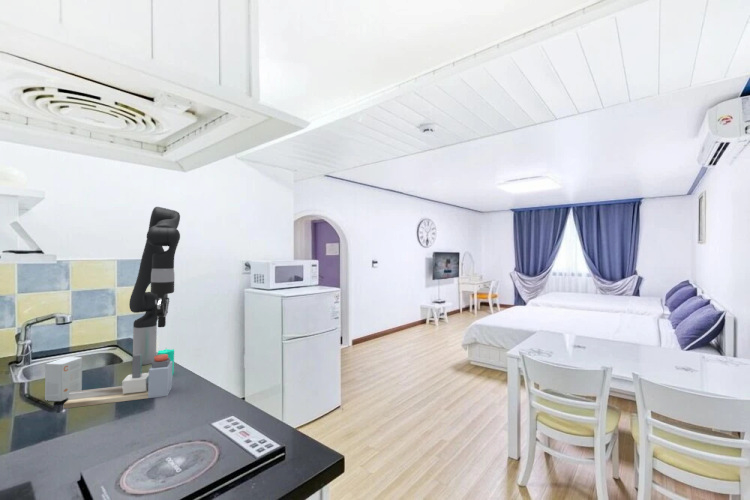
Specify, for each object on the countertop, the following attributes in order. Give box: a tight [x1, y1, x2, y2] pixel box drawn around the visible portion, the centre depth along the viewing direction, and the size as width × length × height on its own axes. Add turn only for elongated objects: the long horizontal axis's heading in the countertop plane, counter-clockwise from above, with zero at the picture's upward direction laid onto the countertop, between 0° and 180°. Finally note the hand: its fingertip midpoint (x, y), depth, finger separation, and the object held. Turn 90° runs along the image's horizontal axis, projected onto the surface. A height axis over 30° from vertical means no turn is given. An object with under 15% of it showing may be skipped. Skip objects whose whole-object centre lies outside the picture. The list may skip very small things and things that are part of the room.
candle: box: [157, 348, 175, 377], centre depth 145 cm, size 6×6×12 cm
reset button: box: [154, 354, 168, 361], centre depth 128 cm, size 4×4×3 cm
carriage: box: [121, 354, 149, 394], centre depth 125 cm, size 7×7×13 cm
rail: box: [62, 384, 149, 409], centre depth 122 cm, size 9×24×4 cm, turn 112°
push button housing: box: [147, 358, 173, 399], centre depth 128 cm, size 9×6×12 cm, turn 22°
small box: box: [44, 356, 83, 402], centre depth 123 cm, size 8×6×13 cm
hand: (161, 326), depth 128 cm, fingers closed
